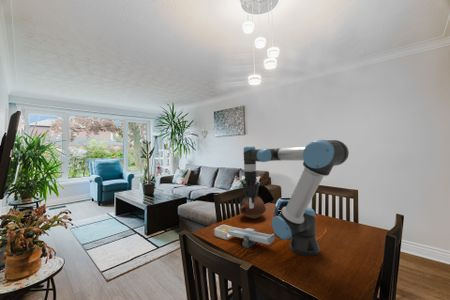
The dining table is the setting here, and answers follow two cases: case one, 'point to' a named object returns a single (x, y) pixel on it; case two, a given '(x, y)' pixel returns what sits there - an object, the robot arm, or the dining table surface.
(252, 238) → the seesaw
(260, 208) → the vase
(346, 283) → the dining table surface
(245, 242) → the trunnion stand
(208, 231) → the dining table surface
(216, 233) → the dish
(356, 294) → the dining table surface
